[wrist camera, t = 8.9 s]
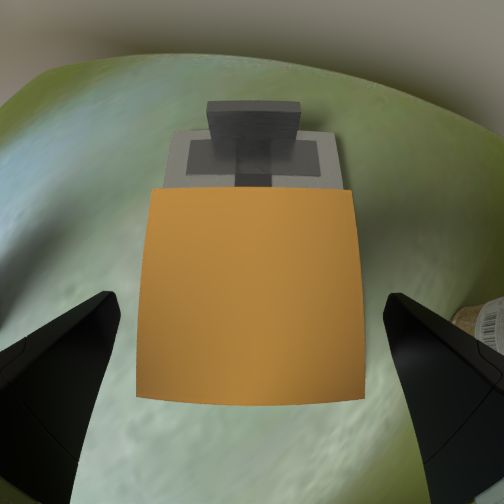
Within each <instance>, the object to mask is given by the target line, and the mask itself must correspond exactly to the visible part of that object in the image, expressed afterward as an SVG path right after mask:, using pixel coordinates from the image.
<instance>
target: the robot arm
mask: <svg viewBox="0 0 504 504" xmlns="http://www.w3.org/2000/svg"><path fill="white" fill-rule="evenodd" d="M120 318H121V312H120V308H119V305H118V301H117V297H116V294H115V293H114V292H113V291H102V292H100V293H98V294H97V295H95V296H93V297H91V298H90V299H88V300H86V301H84V302H83V303H81V304H79V305H78V306H76V307H74V308H72V309H71V310H69V311H67V312H66V313H64V314H62V315H61V316H59V317H57V318H56V319H54V320H52V321H51V322H49V323H47V324H46V325H44V326H42V327H41V328H39V329H37V330H36V331H34V332H33V333H31V334H29V335H28V336H27V337H24V338H23V339H21V340H19V341H18V342H16V343H15V344H13V345H11V346H10V347H8V348H6V349H4V350H3V351H1V352H0V504H70V499H71V494H72V490H73V485H74V480H75V476H76V472H77V467H78V462H79V458H80V454H81V451H82V447H83V443H84V439H85V436H86V432H87V428H88V425H89V422H90V418H91V415H92V411H93V408H94V405H95V402H96V399H97V395H98V392H99V389H100V386H101V383H102V380H103V377H104V374H105V371H106V369H107V366H108V363H109V360H110V357H111V354H112V350H113V346H114V342H115V338H116V334H117V330H118V326H119V322H120ZM383 321H384V325H385V329H386V333H387V338H388V342H389V346H390V351H391V355H392V358H393V361H394V364H395V367H396V370H397V373H398V376H399V379H400V383H401V386H402V389H403V392H404V395H405V398H406V402H407V405H408V408H409V412H410V415H411V419H412V422H413V426H414V430H415V433H416V437H417V441H418V445H419V449H420V453H421V457H422V461H423V465H424V466H423V467H424V471H425V476H426V480H427V485H428V490H429V495H430V500H431V504H471V503H473V502H475V504H504V355H502V354H501V353H499V352H497V351H495V350H494V349H492V348H491V347H489V346H487V345H486V344H484V343H483V342H481V341H479V340H478V339H477V340H476V338H475V337H473V336H472V335H470V334H468V333H467V332H465V331H464V330H462V329H460V328H459V327H457V326H456V325H454V324H452V323H451V322H449V321H447V320H446V319H444V318H443V317H441V316H439V315H438V314H436V313H434V312H433V311H431V310H429V309H428V308H426V307H424V306H423V305H421V304H419V303H418V302H416V301H414V300H413V299H411V298H409V297H408V296H406V295H404V294H403V293H391V294H389V296H388V299H387V302H386V306H385V309H384V312H383Z"/></svg>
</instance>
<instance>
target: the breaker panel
mask: <svg viewBox="0 0 504 504" xmlns="http://www.w3.org/2000/svg"><path fill="white" fill-rule="evenodd" d="M206 113H207V119H208V124H209V130H196V131H179V132H173V134H172V139H171V144H170V150H169V155H168V160H167V166H166V172H165V178H164V184H163V189H164V188H194V187H289V188H320V189H341V190H344V189H343V182H342V176H341V170H340V163H339V157H338V152H337V146H336V141H335V135H334V133H329V132H316V131H299V130H298V125H299V120H300V115H301V109H300V102H289V101H208V104H207V111H206Z"/></svg>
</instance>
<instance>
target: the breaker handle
mask: <svg viewBox="0 0 504 504" xmlns="http://www.w3.org/2000/svg"><path fill="white" fill-rule="evenodd" d="M136 397H141V398H148V399H156V400H164V401H174V402H184V403H197V404H213V405H240V406H274V405H301V404H317V403H329V402H340V401H349V400H358V399H365V328H364V306H363V290H362V276H361V265H360V254H359V244H358V236H357V227H356V219H355V212H354V205H353V198H352V191H351V190H341V189H320V188H289V187H194V188H164V189H153V190H152V196H151V202H150V208H149V215H148V222H147V229H146V237H145V245H144V254H143V263H142V273H141V284H140V296H139V310H138V328H137V358H136Z"/></svg>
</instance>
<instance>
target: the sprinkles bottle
mask: <svg viewBox="0 0 504 504" xmlns="http://www.w3.org/2000/svg"><path fill="white" fill-rule="evenodd" d="M451 323H452V324H454V325H456V326H457V327H459V328H460V329H462V330H464V331H465V332H467V333H468V334H470V335H472V336H473V337H475V338H476V340H477V339H478V340H479V341H481V342H483V343H484V344H486V345H487V346H489V347H491V348H492V349H494V350H495V351H497V352H499V353H501V354H502V355H504V296H503V297H500V298H497V299H494V300H491V301H489V302H487V303H484V304H481V305H478V306H473V307H472V306H468V307H464V308H462V309H460V310H459V311H458V312H457V313H456V314H455V316H454V317H453V319H452V321H451Z"/></svg>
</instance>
